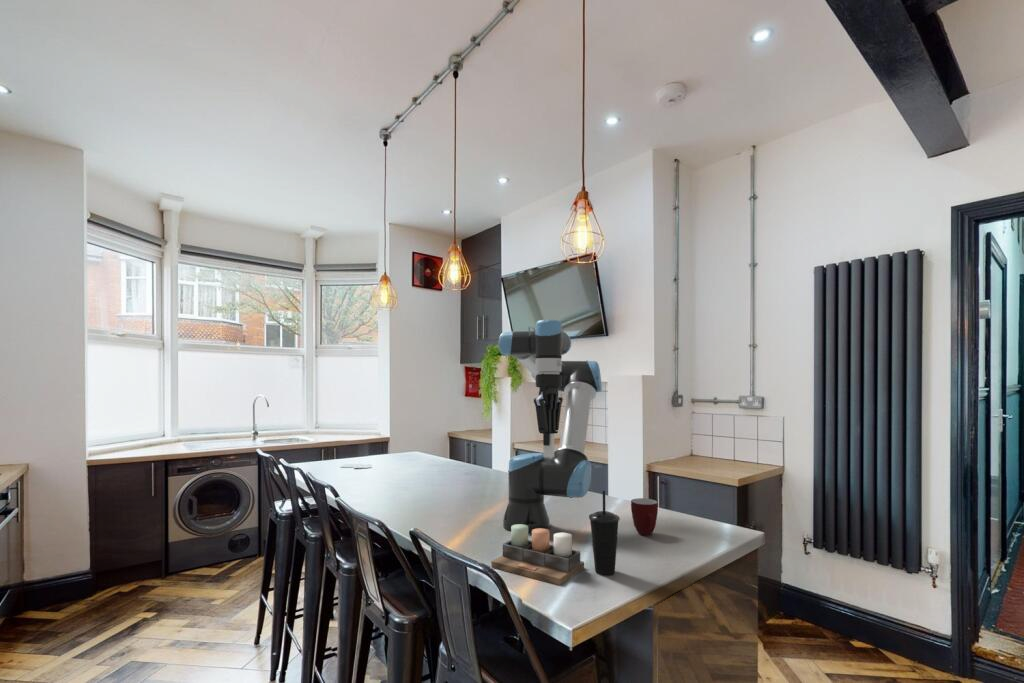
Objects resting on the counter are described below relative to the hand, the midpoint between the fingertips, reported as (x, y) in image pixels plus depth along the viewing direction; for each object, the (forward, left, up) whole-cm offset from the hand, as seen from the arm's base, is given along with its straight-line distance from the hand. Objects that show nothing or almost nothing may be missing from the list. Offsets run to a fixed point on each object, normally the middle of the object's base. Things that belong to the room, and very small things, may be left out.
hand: (548, 456), depth 142 cm
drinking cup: (+19, -5, -27) cm, 33 cm away
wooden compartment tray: (+3, -12, -26) cm, 29 cm away
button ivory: (+10, -10, -23) cm, 26 cm away
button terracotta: (+3, -10, -23) cm, 25 cm away
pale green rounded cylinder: (-3, -10, -23) cm, 25 cm away
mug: (+18, +30, -27) cm, 44 cm away
